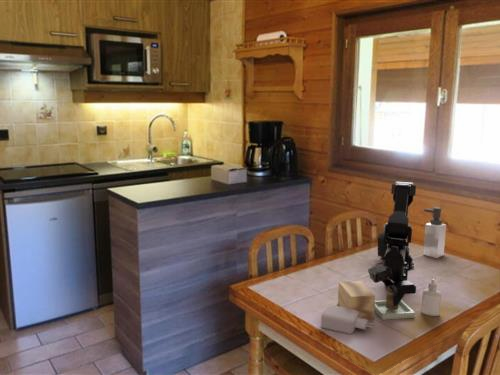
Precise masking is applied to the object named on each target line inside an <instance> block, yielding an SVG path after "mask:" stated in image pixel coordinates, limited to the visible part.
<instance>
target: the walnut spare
mask: <svg viewBox="0 0 500 375" xmlns="http://www.w3.org/2000/svg"><path fill="white" fill-rule="evenodd" d="M389 287H393V285H388V286H387V293H386V294H385V296H386V298H385V300H386V308H388V309H391V310H396V309H398V305H397V306H394V304H393V291H392V290H391V289H390V288H389Z"/></svg>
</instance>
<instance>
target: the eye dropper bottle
mask: <svg viewBox="0 0 500 375" xmlns="http://www.w3.org/2000/svg"><path fill="white" fill-rule="evenodd" d="M437 285H438V284H437V283H436V282H435V279H434V278H432V279H431V281H429V282H428V287H427V288H425V289H423V290H422V298H421V311H420V312H421V313H422V314H423V315H425V316H431V317H438V316H440V314H441V312H440V311H441V301H442V293H441V291H439V290H437V287H438V286H437Z"/></svg>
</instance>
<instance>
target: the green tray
mask: <svg viewBox="0 0 500 375" xmlns="http://www.w3.org/2000/svg"><path fill="white" fill-rule="evenodd" d="M374 313H376V314H377V315H378V316H379V318H381V320H383V321H384V320H394V319H395V320H397V319H399V320H400V319H411V318H415V317H416V312H415V311H414V310H413V308H411V307H410V306H409V305H408V304H407V303H405V301H403V299H401V301H400V302H399V304H398V309H396V310H391V309H388V308H386V299H384V300H383V299H382V300H375V309H374Z"/></svg>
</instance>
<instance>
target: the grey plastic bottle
mask: <svg viewBox="0 0 500 375" xmlns="http://www.w3.org/2000/svg"><path fill="white" fill-rule="evenodd" d="M320 322H321V324H320V328H322V329H326V330H331V331H335V332H339V333H343V334H347V335H350V334H353V333H354V332H355V330H356V329H360V330H367V327H368V328H372V329H373V328H374V325H375V324H374V323H372V322H371V323H370V322H369V319H362V318H359V312H358V311H357V310H355V309H350V308H345V307H340V306H339V305H334V304H328V306H327V307H326V308H325V309H324V311H323V312H322V314H321V321H320Z"/></svg>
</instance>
